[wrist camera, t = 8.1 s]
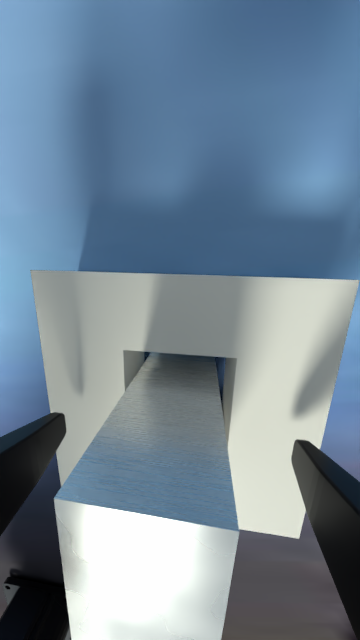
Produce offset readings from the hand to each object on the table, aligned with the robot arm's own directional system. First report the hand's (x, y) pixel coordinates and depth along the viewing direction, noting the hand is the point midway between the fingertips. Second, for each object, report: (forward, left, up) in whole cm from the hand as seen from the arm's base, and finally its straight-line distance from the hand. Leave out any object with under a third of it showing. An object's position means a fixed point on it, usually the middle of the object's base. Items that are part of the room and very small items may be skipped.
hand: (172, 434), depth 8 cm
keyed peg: (0, 0, -4) cm, 4 cm away
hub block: (0, 0, -4) cm, 4 cm away
